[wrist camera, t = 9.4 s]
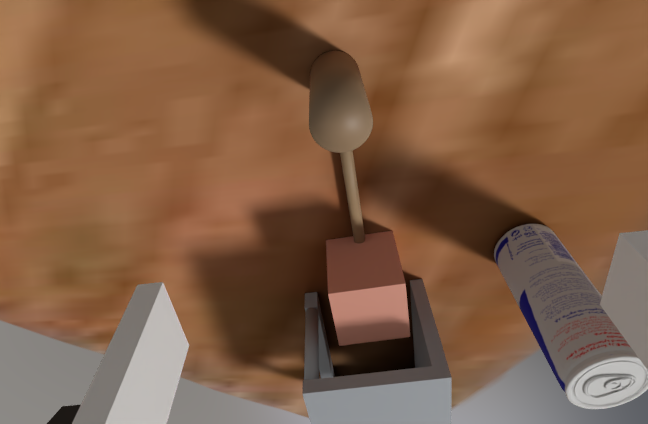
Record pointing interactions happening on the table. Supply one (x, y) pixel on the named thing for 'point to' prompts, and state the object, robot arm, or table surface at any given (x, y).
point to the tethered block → (355, 213)
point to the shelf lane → (378, 376)
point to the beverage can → (569, 320)
